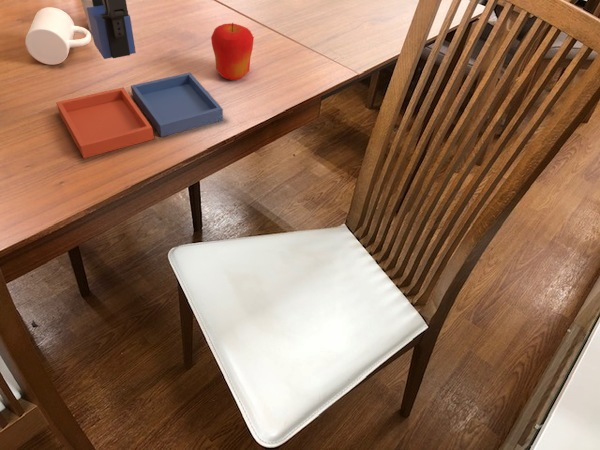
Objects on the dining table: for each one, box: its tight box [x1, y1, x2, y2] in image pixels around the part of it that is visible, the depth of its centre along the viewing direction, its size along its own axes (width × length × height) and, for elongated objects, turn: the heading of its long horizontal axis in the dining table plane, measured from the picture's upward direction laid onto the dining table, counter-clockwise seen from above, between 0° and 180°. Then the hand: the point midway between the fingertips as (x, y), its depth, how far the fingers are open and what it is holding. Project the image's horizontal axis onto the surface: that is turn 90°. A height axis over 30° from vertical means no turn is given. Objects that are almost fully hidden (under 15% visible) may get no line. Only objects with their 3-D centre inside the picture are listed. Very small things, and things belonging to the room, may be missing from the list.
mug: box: [24, 6, 92, 66], centre depth 107 cm, size 12×10×8 cm
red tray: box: [56, 87, 155, 159], centre depth 93 cm, size 15×13×3 cm
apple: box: [210, 22, 255, 81], centre depth 106 cm, size 9×8×12 cm
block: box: [87, 5, 137, 60], centre depth 78 cm, size 5×5×6 cm
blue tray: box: [130, 72, 224, 138], centre depth 99 cm, size 15×13×3 cm
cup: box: [80, 0, 93, 32], centre depth 115 cm, size 8×8×12 cm
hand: (114, 47), depth 80 cm, fingers closed on block, 5 cm apart
